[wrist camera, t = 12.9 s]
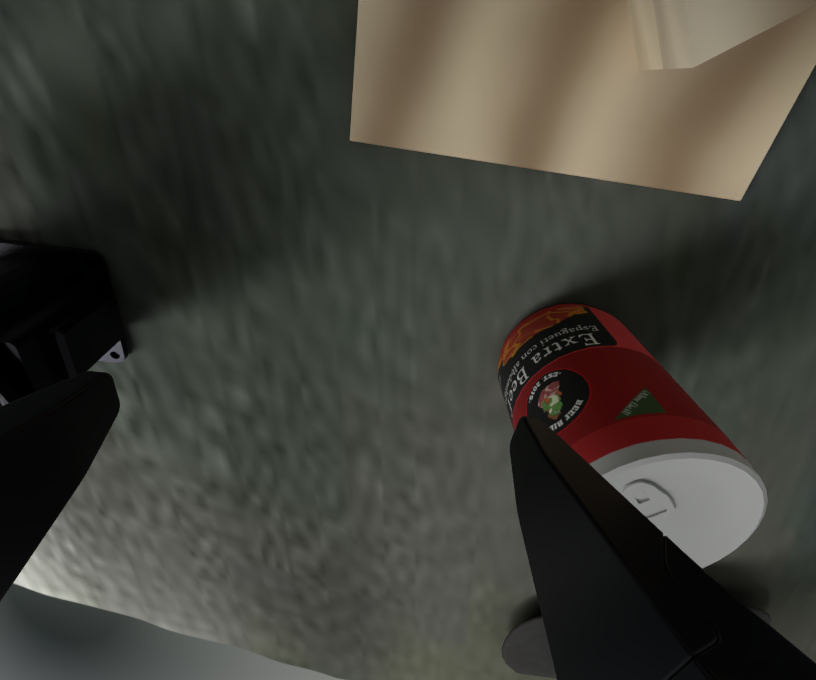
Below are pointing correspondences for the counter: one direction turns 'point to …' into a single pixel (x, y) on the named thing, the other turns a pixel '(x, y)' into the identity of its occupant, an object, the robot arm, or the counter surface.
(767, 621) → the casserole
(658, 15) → the slab top
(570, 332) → the canned food
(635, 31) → the slab bottom
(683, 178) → the beige square cloth
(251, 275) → the counter surface
